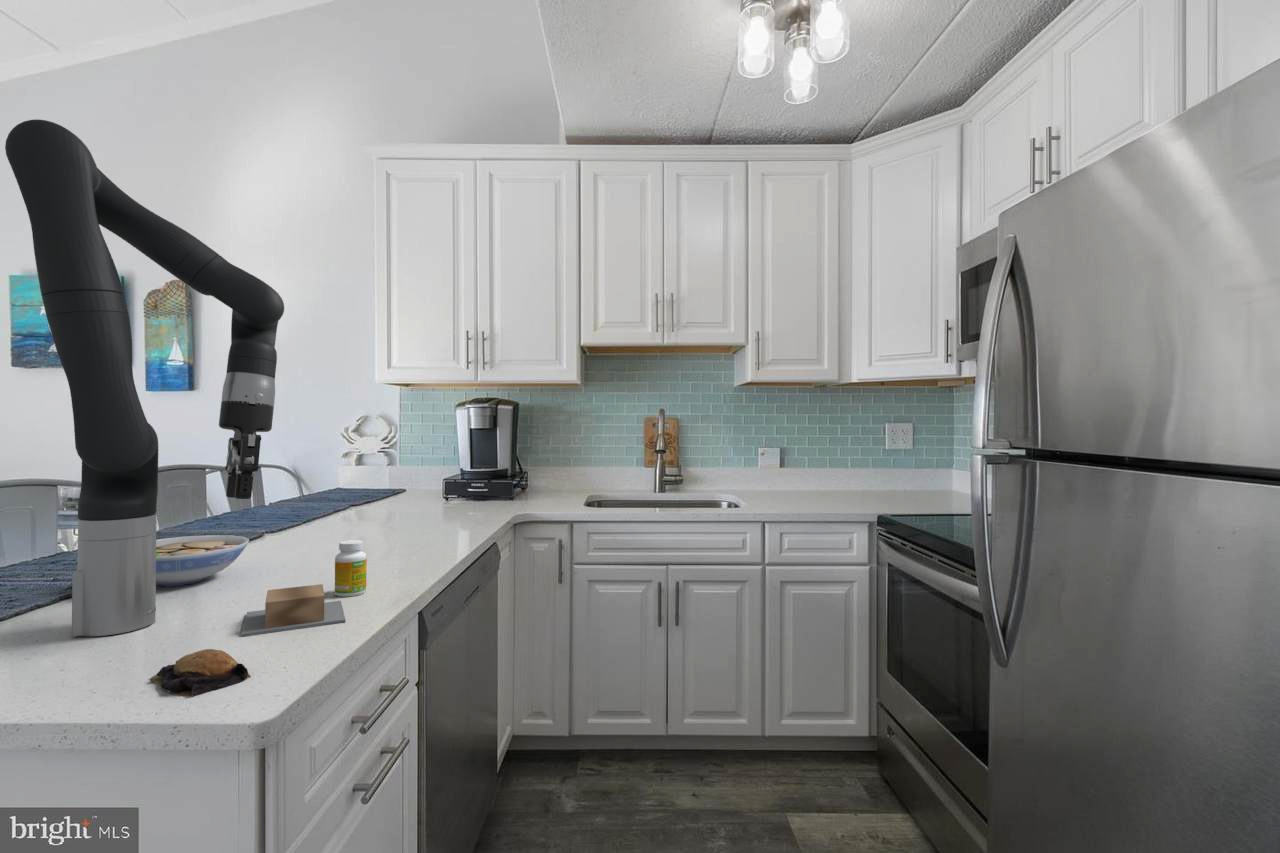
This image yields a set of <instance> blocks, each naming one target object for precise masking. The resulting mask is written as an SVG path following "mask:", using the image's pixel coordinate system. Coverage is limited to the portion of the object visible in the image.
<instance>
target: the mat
mask: <svg viewBox="0 0 1280 853" xmlns="http://www.w3.org/2000/svg"><path fill="white" fill-rule="evenodd" d="M340 623H346V616H345V613H344V608H343V603H342V600H333V601H324V621H318V622H311V623H304V624H296V625H289V626H282V627H274V628H267V629H265V609H261V610H253V611H247V612H246V615H245V617H244V622H243V626H242V630H241V633H240V637H248V636H249V637H250V636H256V635H262V634H269V633H277V632H284V631H291V630H299V629H305V628H306V629H307V628H313V627H320V626H328V625H333V624H340Z"/></svg>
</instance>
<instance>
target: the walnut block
mask: <svg viewBox="0 0 1280 853" xmlns="http://www.w3.org/2000/svg"><path fill="white" fill-rule="evenodd" d="M264 603H265V608H264V610H265V629H267V628H274V627H282V626H289V625H296V624H304V623H311V622H318V621H324V603H325V592H324V586H323V583H321V584H320V583H319V584H311V585H303V586H302V585H301V586H293V587H284V588H276V589H275V588H274V589H267V592H266V598H265V602H264Z"/></svg>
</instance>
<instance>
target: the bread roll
mask: <svg viewBox="0 0 1280 853" xmlns="http://www.w3.org/2000/svg"><path fill="white" fill-rule="evenodd" d="M251 678H252V676H251V675H250V673H249V669H248V668H247V667H246V666H245V664H243V663H240V662H238V661H237V660H236V659H234V657H232V656H231V655H230V654H228V653H227V652H226V651H224V650H220V649H215V648H214V649H213V648H207V649H205V648H204V649H201V650H198V651H195V652H192V653H189V654H186V655H183V656H182V657H181V658H179V659H178V660H176V661H175V664H174V663H173V664H168V665H166V666H162V667H161V668H160V670H159V671H158V672H157V673H156V674H155V675H153V676H151V677H150V681H151V682H152V683H154V684H155V685H156V686H158V687H159V688H160V689H162V690H164V691H166V692H168V693H170V694H173V695H176V696H177V697H178V696H179V697H182V698H186V697H188V696H191V698H194V697H197V696H201V695H204V694H208V693H211V692H213V691H217V690H219V689H224V688H228V687H231V686H235V685H237V684H240V683H242V682H244V681H246V680H248V679H251Z"/></svg>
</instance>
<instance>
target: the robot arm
mask: <svg viewBox="0 0 1280 853" xmlns="http://www.w3.org/2000/svg"><path fill="white" fill-rule="evenodd" d="M4 149H5V154H6V155H5V156H6V157H7V160H8V163H9V165H10V168H11V170H12V172H13V175H14V177H15V180H16V183H17V185H18V187H19V191H20V193H21V196H22V200H23V201H24V205H25V207H26V211H27V214H28V215H27V216H28V218H29V221H30V222H29V223H30V227H31V233H32V234H31V235H32V244H33V252H34V259H35V266H36V272H37V278H38V283H39V289H40V293H41V295H40V296H41V299H42V302H43V307H44V313H45V316H46V320H47V323H48V327H49V329H50V333H51V337H52V340H53V343H54V346H55V349H56V352H57V356H58V357H59V360H60V363H61V366H62V369H63V370H64V373H65V376H66V380H67V383H68V388H69V393H70V398H71V407H72V416H73V427H74V431H73V432H74V433H73V434H74V444H75V446H74V447H75V450H76V453H77V455H78V457H79V458H80V460H81V480H80V481H81V484H80V492H79V498H78V500H77V501H78V502H77V569H76V570H75V571H73V572H72V575H71V576H72V577H71V578H72V579H71V580H72V581H71V582H72V583H71V586H72V588H71V590H72V591H71V637H72V638H76V637H103V636H110V635H113V636H114V635H118V634H124V633H129V632H134V631H137V630H140V629H143V628H146V627H148V626H150V625H152V624H154V623H155V622H156V615H157V614H156V610H157V606H156V600H157V599H156V594H157V593H156V592H157V589H156V587H157V584H156V540H157V505H158V504H157V503H158V491H159V485H158V484H159V483H158V482H159V479H158V478H159V439H158V434H157V432H156V430H155V428H154V427H153V426H152V425H151V424H150V423H149V422H148V420H147V418H146V414H145V412H144V409H143V407H142V406H143V405H142V403H141V401H140V397H139V394H138V392H137V388H136V385H135V379H134V374H133V373H134V372H133V371H134V370H133V337H132V327H131V326H132V325H131V320H130V315H129V310H128V305H127V301H126V296H125V291H124V288H123V285H122V281H121V278H120V276H119V273H118V270H117V266H116V264H115V262H114V259H113V257H112V254H111V251H110V249H109V247H108V244H107V242H106V240H105V237H104V235H103V233H102V230H101V227H103V229H106V230H108V231H109V232H111V233H112V234H114V235H116V236H117V237H119V238H120V239H122V240H123V241H125V242H126V243H127V244H129V245H130V246H132V247H133V248H134V249H136V250H137V251H139V252H140V253H141V254H143V255H144V256H146V257H147V258H148V259H150V260H151V261H152V262H154V263H155V264H157V265H159V267H161V268H163V269H164V270H166V271H167V272H168V273H169V274H171V275H173V277H175V278H177V280H179V281H181V282H182V283H184V284H185V285H186V286H188V287H190V288H191V289H193V290H194V291H196V292H198V293H199V294H201V295H204V296H209V297H210V296H211V297H213V298H215V299H216V300H218V301H219V302H221V303H223V304H224V305H225V306H227V307H229V308H230V309H231V310H232V311H231V322H230V323H231V327H230V328H231V330H230V341H231V342H230V348H229V349H228V350H229V351H228V355H227V365H226V375H225V378H224V382H223V385H222V392H221V402H220V410H219V419H218V426H219V428H221V429H223V430H229V431H233V432H234V434H233V437H229V438H228V440H227V441H228V443H227V456H226V465H225V467H224V468H225V472H226V476H227V484H226V492H225V495H226V496H225V497H227V498H235V499H237V500H249V499H251V498H252V494H253V484H254V476H255V475H256V474H257V472H258V470H260V467H259V462H260V451H261V441H262V435H261V434H257V433H267V432H270V431H271V430H272V429H273V419H274V408H275V399H276V398H275V397H276V381H275V380H276V371H277V361H278V353H277V350H276V348H275V347H276V340H277V339H276V338H277V331H278V325H279V324H278V323H279V321H280V320H281V319H282V317H283V316H284V313H285V303H284V300H283V299H282V297H281V296H280V294H279V293H278V292H277V290H275V289H274V288H273V287H272V286H271V285H269V284H268V283H266V282H265V281H264V280H262V279H259V278H258V277H257V276H255V275H253V274H251V273H249V272H248V271H247V270H244V269H242V268H240V267H238V266H236V265H234V264H232V263H230V262H229V261H228V260H226V259H225V258H224V257H223V256H222V255H220V253H218V252H217V251H215V250H214V249H212V248H211V247H209V246H208V245H207V244H205V243H204V242H203V241H202V240H200V239H198V238H197V237H195V236H194V235H192V234H191V233H189V232H188V231H186V230H184V229H183V228H182V227H181V226H179V225H177V224H175V223H173V222H171V221H170V220H167V219H165V218H164V217H162V216H160V215H159V214H157V213H154V212H153V211H151V210H150V209H148V208H147V207H145V206H143V205H142V204H140V202H138V201H136V200H135V199H134V198H132V197H131V196H130V195H128V194H127V193H126V192H124V191H123V190H122V189H121V188H120V187H119V186H117V185H116V184H115V183H114V182H113V181H112V180H111V179H110V178H109V177H108V176H106V175H105V174H104V173H103V171H101V170H100V169H99V167H97V163H96V161H95V160H94V157H93V155H92V153H91V151H90V150H89V148H88V147H87V145H86V144H85V143H84V142H83V141H82V139H80V137H78V136H77V135H76V134H74V133H73V132H72V131H71V130H69V129H68V128H66V127H64V126H62V125H60V124H58V123H56V122H54V121H50V120H45V119H28V120H25V121H22V122H20V123H18V124H16V125H15V126H14V127H13V128H12V129H11V130H10V131H9V133H8V135H7V138H6V140H5V146H4ZM100 226H101V227H100Z"/></svg>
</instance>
